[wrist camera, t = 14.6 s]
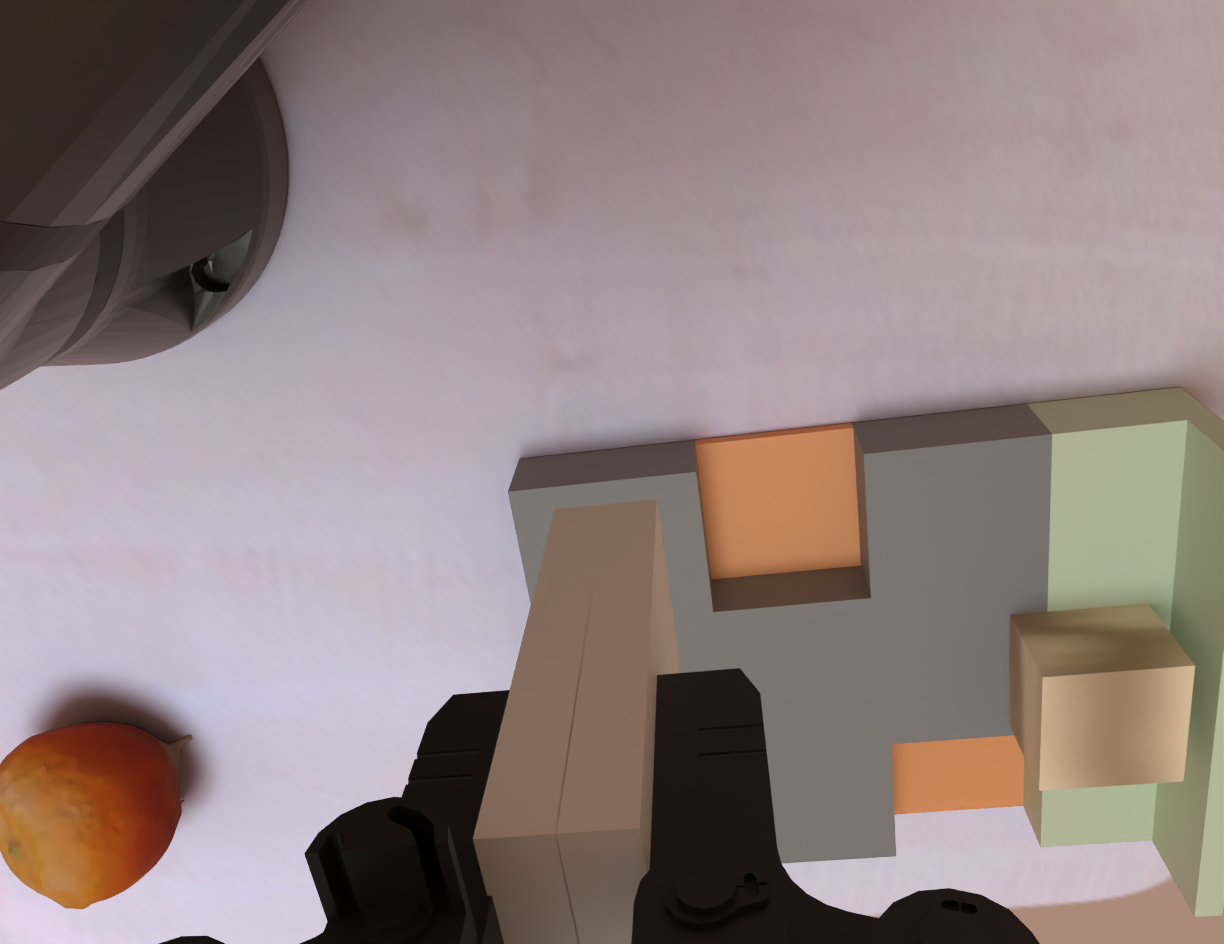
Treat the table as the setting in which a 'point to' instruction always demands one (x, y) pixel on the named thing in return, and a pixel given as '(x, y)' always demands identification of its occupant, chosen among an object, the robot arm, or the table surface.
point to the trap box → (933, 601)
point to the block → (1099, 697)
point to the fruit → (88, 809)
